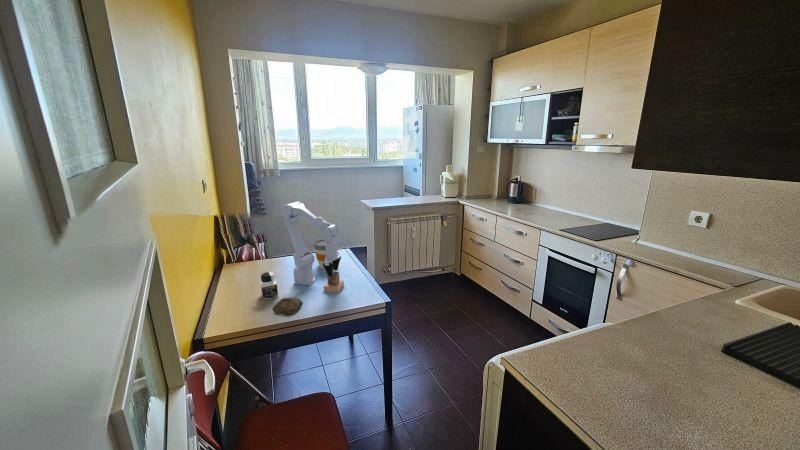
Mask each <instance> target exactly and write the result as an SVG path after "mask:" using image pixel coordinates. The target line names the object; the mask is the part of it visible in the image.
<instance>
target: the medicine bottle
mask: <svg viewBox="0 0 800 450" xmlns="http://www.w3.org/2000/svg"><path fill="white" fill-rule="evenodd" d="M259 283H260V291H261V296H262V300H263V301H264V300H269V299H274V298H278V297H279V290H278V283H277V281H276V278H275V274H274V272H271V271H265V272H263V273H261V275H260V281H259Z"/></svg>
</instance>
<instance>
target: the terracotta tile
mask: <svg viewBox="0 0 800 450" xmlns="http://www.w3.org/2000/svg"><path fill="white" fill-rule="evenodd" d="M344 286H345V281H344V280H341V279H339V283H338V284H337V285H328V281H326V282H325V284H324V285H323V292H324V293H325V292H327V293H338V294H339V292H341V290H342V289H343V288H344Z"/></svg>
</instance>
